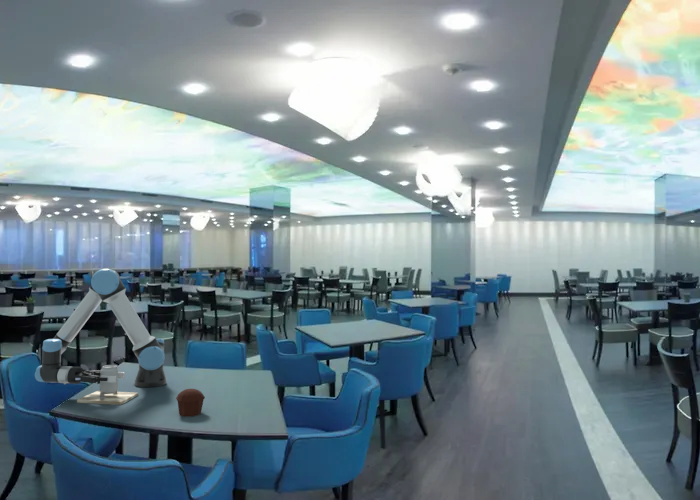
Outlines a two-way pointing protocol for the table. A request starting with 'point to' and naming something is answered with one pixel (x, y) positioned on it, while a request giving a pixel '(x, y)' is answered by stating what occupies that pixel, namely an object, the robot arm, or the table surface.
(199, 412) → the muffin
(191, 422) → the table surface
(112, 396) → the pin base
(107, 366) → the can
